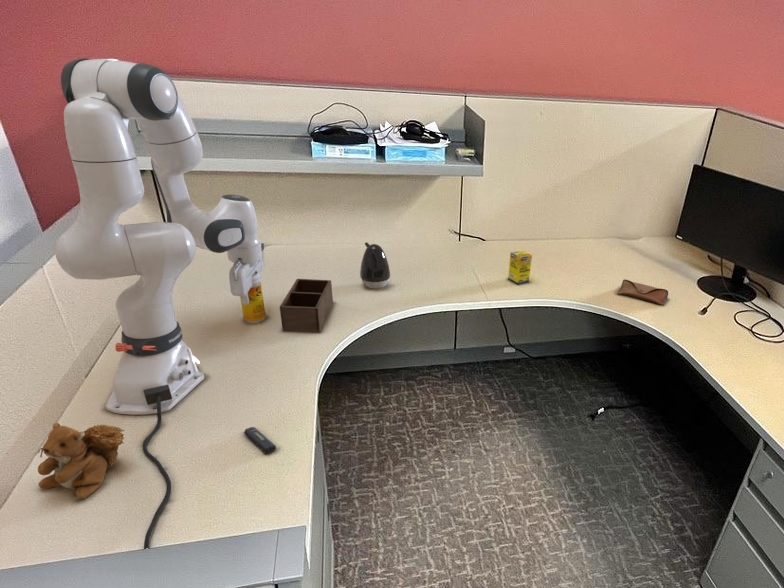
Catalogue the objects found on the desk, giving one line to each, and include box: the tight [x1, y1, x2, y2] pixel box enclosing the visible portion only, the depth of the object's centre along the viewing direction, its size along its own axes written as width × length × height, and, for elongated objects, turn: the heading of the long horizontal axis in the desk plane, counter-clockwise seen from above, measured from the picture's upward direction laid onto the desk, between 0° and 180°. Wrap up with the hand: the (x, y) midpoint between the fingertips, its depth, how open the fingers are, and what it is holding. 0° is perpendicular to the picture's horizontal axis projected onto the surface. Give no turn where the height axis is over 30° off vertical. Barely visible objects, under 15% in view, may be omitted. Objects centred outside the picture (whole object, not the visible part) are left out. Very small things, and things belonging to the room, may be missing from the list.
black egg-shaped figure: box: [359, 241, 391, 290], centre depth 194 cm, size 10×10×15 cm
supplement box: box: [507, 249, 533, 285], centre depth 211 cm, size 6×6×11 cm
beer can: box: [240, 271, 267, 324], centre depth 166 cm, size 6×6×15 cm
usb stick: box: [244, 426, 277, 454], centre depth 123 cm, size 10×3×2 cm, turn 50°
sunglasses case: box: [616, 279, 669, 306], centre depth 211 cm, size 18×7×7 cm
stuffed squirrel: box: [37, 422, 125, 500], centre depth 107 cm, size 10×14×13 cm
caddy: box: [279, 278, 334, 334], centre depth 173 cm, size 20×11×8 cm, turn 5°
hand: (251, 296), depth 166 cm, fingers open, 8 cm apart
